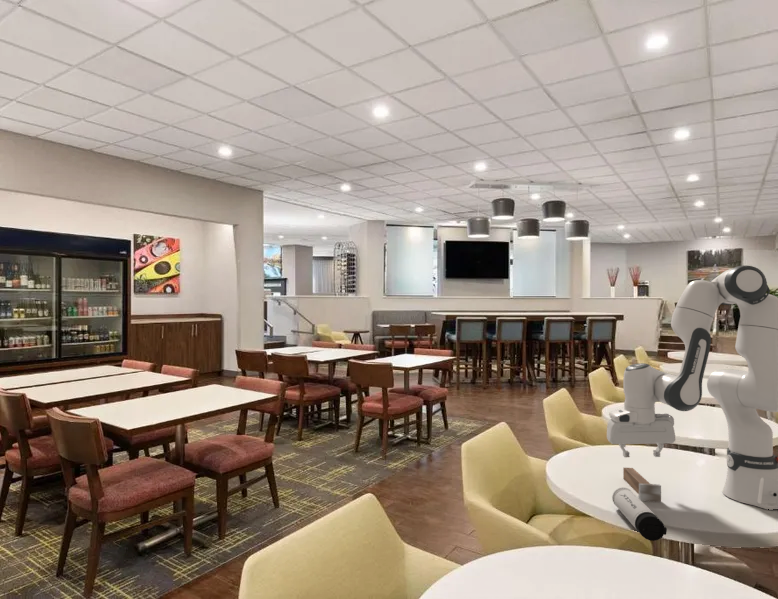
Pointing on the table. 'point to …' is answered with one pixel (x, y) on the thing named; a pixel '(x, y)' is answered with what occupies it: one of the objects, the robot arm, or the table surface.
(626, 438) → the robot arm
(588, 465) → the table surface
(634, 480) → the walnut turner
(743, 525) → the table surface
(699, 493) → the table surface
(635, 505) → the travel mug
